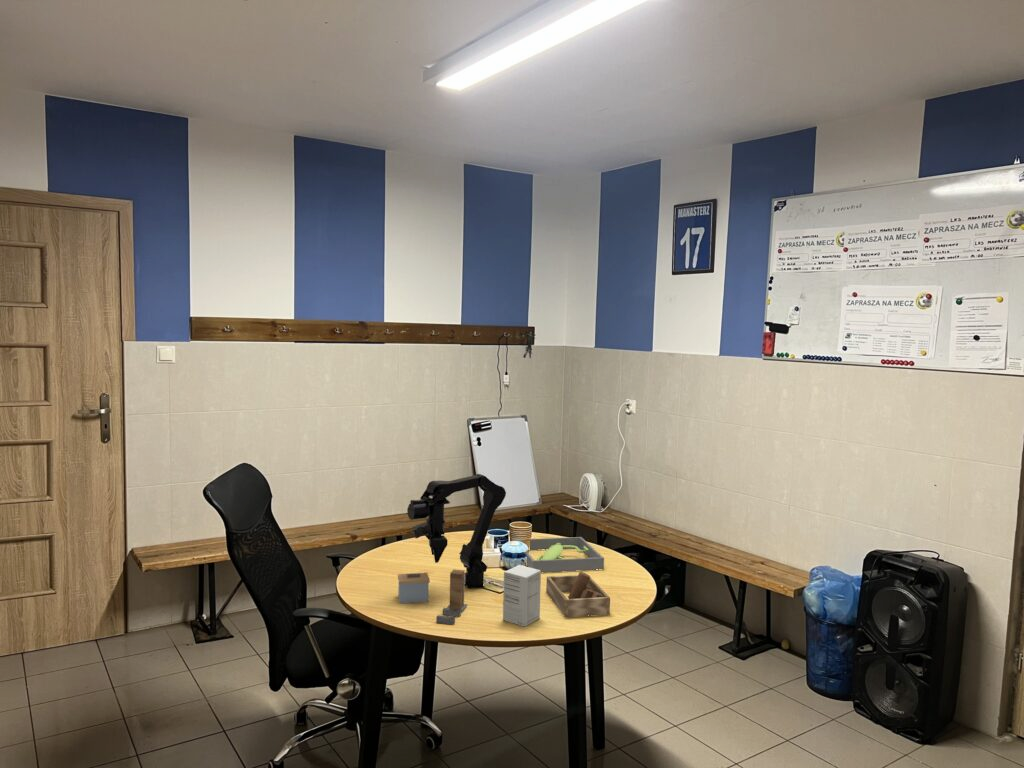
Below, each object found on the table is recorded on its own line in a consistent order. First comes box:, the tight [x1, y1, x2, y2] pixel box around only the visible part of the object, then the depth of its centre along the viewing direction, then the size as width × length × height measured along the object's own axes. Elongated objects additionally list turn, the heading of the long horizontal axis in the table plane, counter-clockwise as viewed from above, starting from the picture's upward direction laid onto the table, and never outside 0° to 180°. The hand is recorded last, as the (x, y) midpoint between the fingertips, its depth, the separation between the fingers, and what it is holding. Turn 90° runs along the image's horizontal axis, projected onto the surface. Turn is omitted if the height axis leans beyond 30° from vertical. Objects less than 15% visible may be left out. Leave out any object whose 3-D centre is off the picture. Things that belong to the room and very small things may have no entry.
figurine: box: [536, 543, 589, 560], centre depth 315 cm, size 18×27×6 cm
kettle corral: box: [526, 536, 605, 574], centre depth 315 cm, size 30×30×5 cm
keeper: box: [435, 607, 462, 625], centre depth 249 cm, size 8×6×2 cm
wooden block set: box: [567, 571, 604, 599], centre depth 267 cm, size 18×9×10 cm, turn 15°
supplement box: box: [502, 564, 542, 627], centre depth 250 cm, size 10×9×17 cm
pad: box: [446, 603, 468, 613], centre depth 259 cm, size 6×6×1 cm
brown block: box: [449, 568, 466, 610], centre depth 258 cm, size 4×4×12 cm
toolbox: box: [397, 572, 431, 604], centre depth 266 cm, size 11×8×9 cm
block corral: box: [545, 574, 611, 618], centre depth 267 cm, size 16×24×6 cm, turn 13°
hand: (435, 558), depth 271 cm, fingers open, 9 cm apart
